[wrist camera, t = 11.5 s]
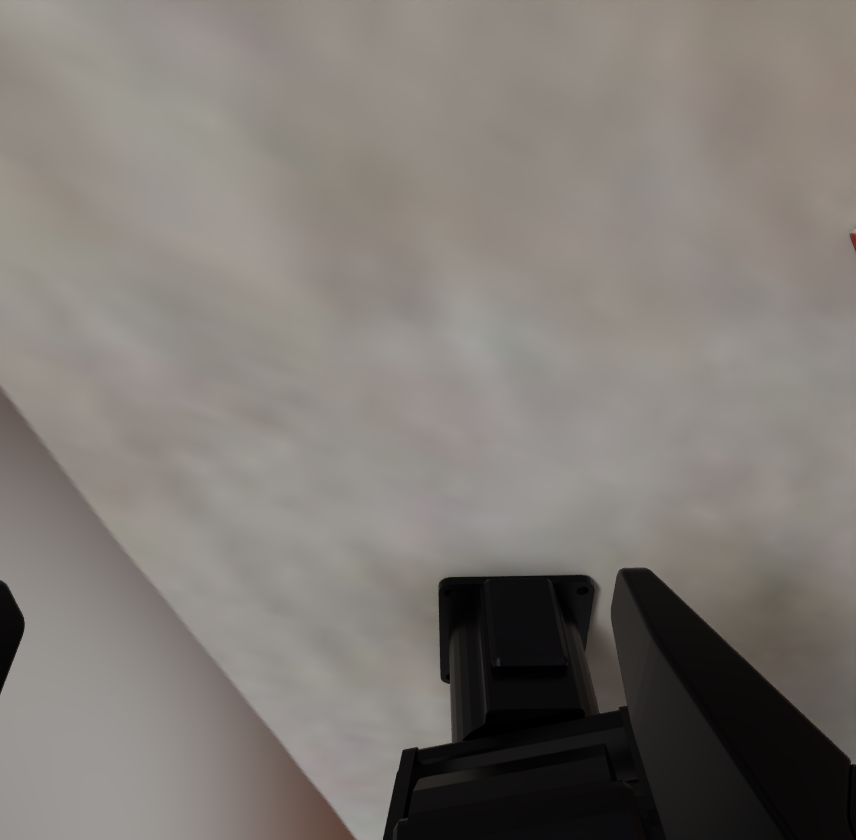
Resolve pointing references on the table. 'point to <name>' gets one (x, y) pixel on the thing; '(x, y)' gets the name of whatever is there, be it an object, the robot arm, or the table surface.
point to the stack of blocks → (853, 236)
